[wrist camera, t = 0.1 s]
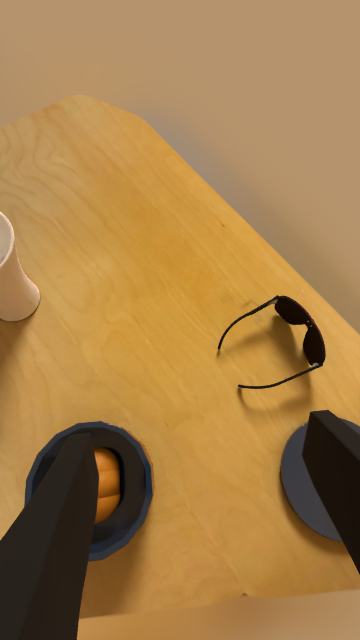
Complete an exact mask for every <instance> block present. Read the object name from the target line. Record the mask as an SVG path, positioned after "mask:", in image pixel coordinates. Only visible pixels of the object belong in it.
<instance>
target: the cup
mask: <svg viewBox="0 0 360 640" xmlns="http://www.w3.org/2000/svg"><path fill="white" fill-rule="evenodd" d="M39 302H40V293H39V290H38V288H37V286H36V285H35V284H34V283H33V282H32V281H30V280H29V279H28V278H27V276H26V275H25V273H24V272H23V270H22V267H21V265H20V262H19V259H18V254H17V249H16V244H15V238H14V232H13V227H12V225H11V224H10V222H9V220H8V218H7V217H6V216H5V215H3V214H2V213H1V212H0V318H1V319H3V320H6V321H18V320H22V319H24V318H26V317H28V316H29V315H31V314H32V313H33V312H34V311H35V309H36V308H37V307H38V304H39Z"/></svg>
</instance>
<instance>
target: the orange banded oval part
mask: <svg viewBox="0 0 360 640" xmlns="http://www.w3.org/2000/svg"><path fill="white" fill-rule="evenodd" d="M93 448H94V453H95V458H96V463H97V468H98V472H99V489H98V503H97V513H96V519H95V524H97V523H101V522H103V521H105V520H107V519H108V518H109V517H110V516H111V515H112V514H113V513H114V512H115V510H116V508H117V506H118V504H119V500H120V468H119V463H118V460H117V458H116V456H115V455H114V454H113V452H111V451H110V450H109V449H106V448H103V447H93Z"/></svg>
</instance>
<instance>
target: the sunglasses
mask: <svg viewBox="0 0 360 640" xmlns="http://www.w3.org/2000/svg"><path fill="white" fill-rule="evenodd" d="M271 304H275V310H276V312H277V313H278V314H279V315H280V316H281V317H282V318H283V319H284V320H285V321H286V322H287V323H289V324H291V325H302V324H305V325H306V326H307V328H308V331H307V332H306V334H305V338H304V341H303V349H304V352H305V355H306V358H307V360H308V362H309V364H310V365H311V366H312V367H310V368H308V370H306V371H303V372H301V373H299V374H297V375H294V376H292V377H290V378H287V379H285V380H283V381H281V382H278V383H275V384H272V385H267V386H244V385H238V387H241V388H249V389H263V388H270V387H274V386H277V385H280V384H282V383H284V382H287V381H289V380H292V379H294V378H296V377H298V376H301V375H303V374H305V373H308V372H310V371H312V370H314V369H316V368H319V367H321V366H323V363H324V360H325V345H324V341H323V337H322V335H321V333H320V330H319V329H318V327H317V325H316V324H315V322H314V320H313V319H312V318H311V316H310V315H309V313H308V312H307V311H306V310H305V309H304V308H303V307H302V306H301V305H300V304H299V303H297V302H296V301H294V300H293V299H291V298H289V297H287V296H280V297H279V296H278V295H277V296H276V297H274V298H273V299H271V300H270V301H268V302H266V303H264V304H263V305H261V306H259V307H257V308H256V309H254V310H252V311H250V312H249V313H247V314H245V315H243V316H241V317H240V318H238V319H237V320H236V321H234V322H233V323H232V324H231V325H230V326H229V327H228V328H227V329H226V331H225V332H224V334H223V336H222V338H221V340H220V343H219V346H218V349H220V348H221V344H222V341H223V339H224V337H225V335H226V333H227V332H228V331H229V329H230V328H231V327H232V326H233V325H234V324H236V323H237V322H238V321H240V320H241V319H243V318H245V317H246V316H249V315H252V314H254V313H256V312H258V311H260V310H261V309H263V308H265V307H267V306H268V305H271ZM308 321H309V322H308ZM311 325H312V326H311Z"/></svg>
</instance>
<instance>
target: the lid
mask: <svg viewBox="0 0 360 640" xmlns="http://www.w3.org/2000/svg"><path fill="white" fill-rule="evenodd" d="M339 419H340V420H342V421H343V422H344V423H346V424H347V425H348V426H349V427H351V428H352V429H353V430H354V431H356V432H357V433H358V434H359V435H360V427H359V426H358V425H356V424H354V423H352V422H350V421H347V420H345V419H341V418H339ZM307 426H308V422H306V423H304V424H303V425H301V426H300V427H298V428H297V429H296V430H295V431H294V432H293V434H292V435H291V436H290V438H289V439H288V441H287V443H286V445H285V448H284V450H283V455H282V460H281V477H282V483H283V487H284V491H285V494H286V496H287V499H288V501H289V503H290V505H291V506H292V508H293V510H294V511H295V513H296V514H297V515H298V516H299V518H300V519H301V520H302V521H303V522H304V523H305V524H306V525H307V526H309V527H310V528H311V529H312V530H314V531H315V532H317V533H319V534H321V535H322V536H324V537H327V538H329V539H332V540H336V541H342V539H341V537H340V535H339V533H338V531H337V530H336V528H335V526H334V524H333V522H332V520H331V518H330V516H329V515H328V513H327V511H326V509H325V507H324V505H323V503H322V501H321V499H320V497H319V496H318V494H317V492H316V490H315V488H314V486H313V483H312V481H311V478H310V476H309V473H308V471H307V468H306V465H305V463H304V460H303V457H302V451H303V446H304V441H305V436H306V431H307ZM342 542H343V541H342Z"/></svg>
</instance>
